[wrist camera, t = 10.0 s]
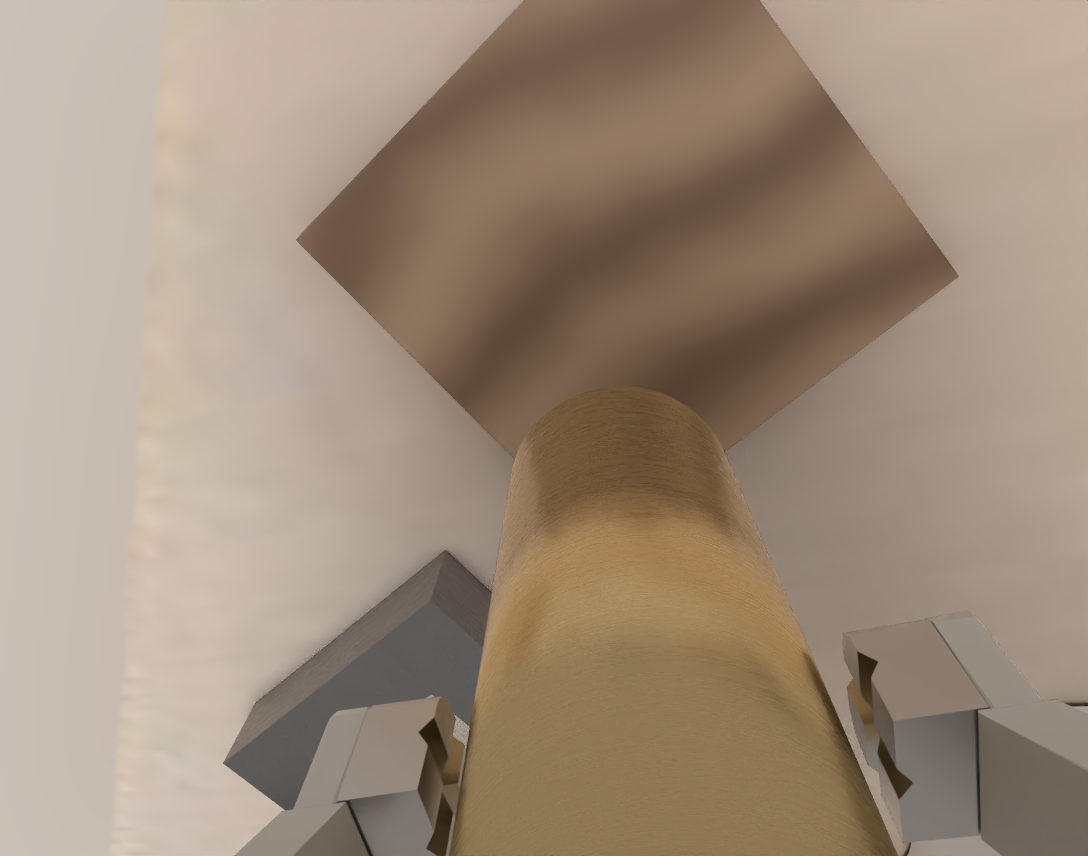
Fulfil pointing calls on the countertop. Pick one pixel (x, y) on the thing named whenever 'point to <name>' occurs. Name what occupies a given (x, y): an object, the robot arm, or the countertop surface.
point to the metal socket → (370, 674)
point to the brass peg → (647, 661)
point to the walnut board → (629, 219)
